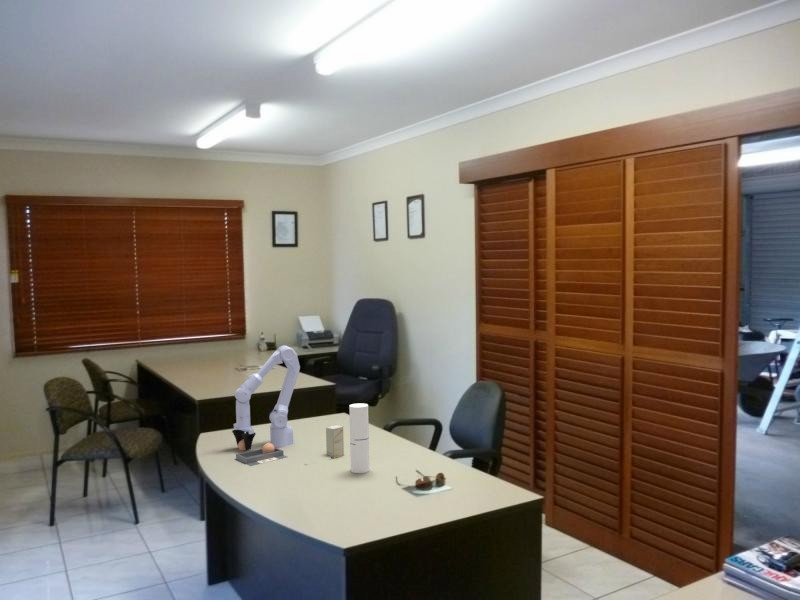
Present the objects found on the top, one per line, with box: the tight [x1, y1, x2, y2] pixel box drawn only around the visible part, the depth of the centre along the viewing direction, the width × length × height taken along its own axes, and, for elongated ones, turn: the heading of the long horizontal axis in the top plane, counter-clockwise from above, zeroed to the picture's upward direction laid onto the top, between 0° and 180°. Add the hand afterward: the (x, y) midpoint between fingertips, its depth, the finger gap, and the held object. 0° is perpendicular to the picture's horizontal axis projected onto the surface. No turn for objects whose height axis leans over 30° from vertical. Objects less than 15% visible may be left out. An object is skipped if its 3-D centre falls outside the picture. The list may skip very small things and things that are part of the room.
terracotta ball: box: [237, 439, 247, 452], centre depth 272 cm, size 5×5×5 cm
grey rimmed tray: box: [235, 447, 288, 467], centre depth 258 cm, size 17×13×3 cm
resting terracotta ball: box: [261, 442, 275, 454], centre depth 262 cm, size 5×5×5 cm
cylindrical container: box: [348, 402, 370, 474], centre depth 243 cm, size 7×7×25 cm
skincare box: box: [325, 424, 345, 459], centre depth 262 cm, size 6×4×12 cm
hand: (244, 447), depth 272 cm, fingers open, 7 cm apart
